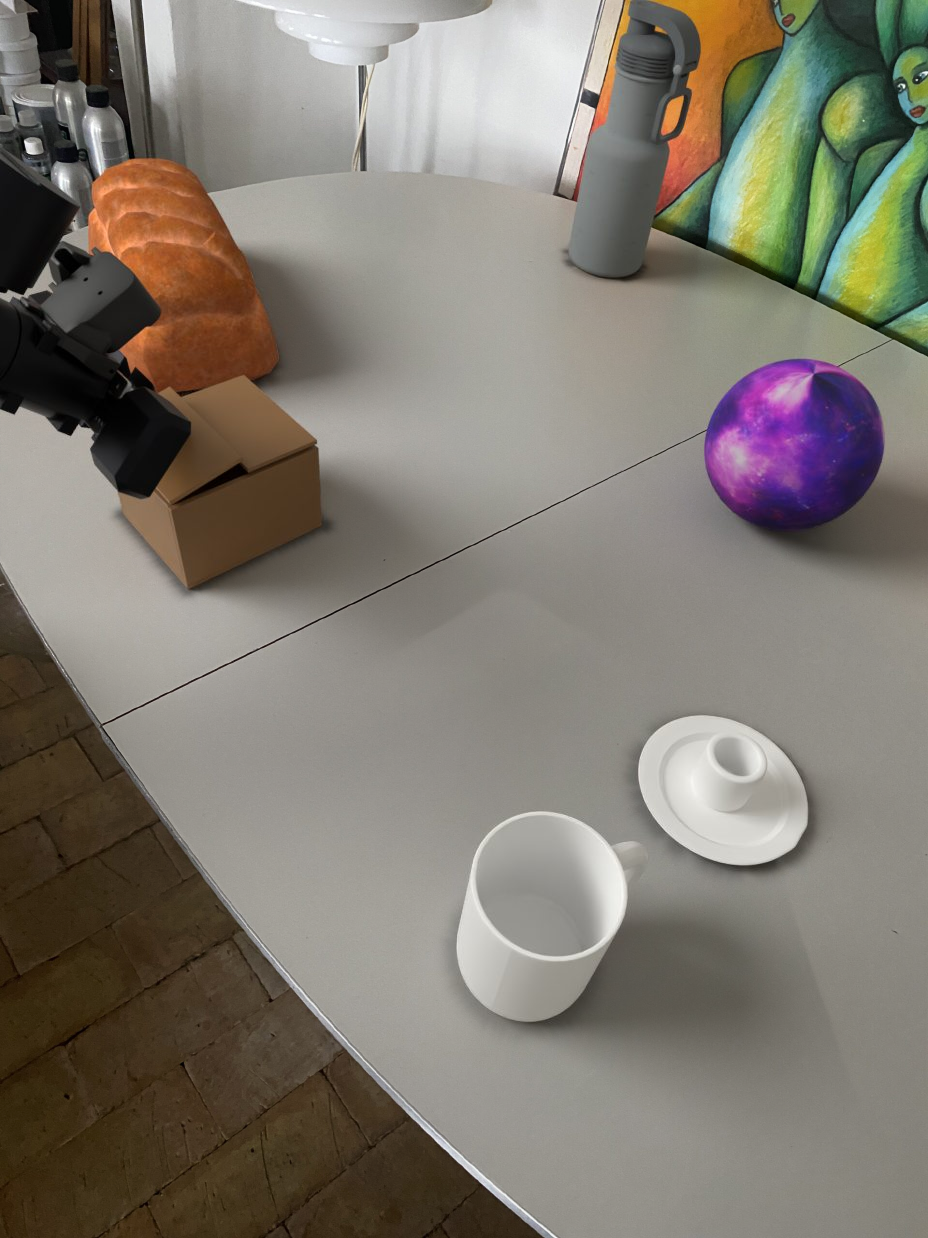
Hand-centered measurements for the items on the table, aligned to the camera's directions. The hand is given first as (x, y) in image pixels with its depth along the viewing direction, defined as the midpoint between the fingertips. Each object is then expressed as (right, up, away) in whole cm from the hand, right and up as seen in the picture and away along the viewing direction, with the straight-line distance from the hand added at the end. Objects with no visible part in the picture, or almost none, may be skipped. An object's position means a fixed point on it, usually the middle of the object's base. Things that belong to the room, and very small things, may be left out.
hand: (182, 430), depth 67 cm
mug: (+27, -35, -13) cm, 46 cm away
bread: (-10, +19, +30) cm, 37 cm away
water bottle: (+40, +32, +47) cm, 70 cm away
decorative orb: (+50, -4, +16) cm, 53 cm away
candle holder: (+40, -27, -5) cm, 48 cm away
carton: (+1, -6, +9) cm, 11 cm away
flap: (-1, -1, 0) cm, 1 cm away
